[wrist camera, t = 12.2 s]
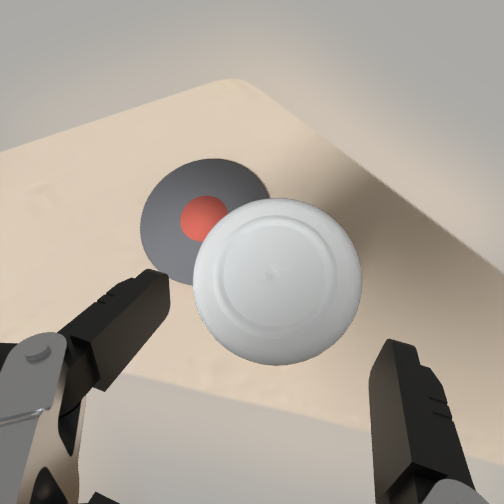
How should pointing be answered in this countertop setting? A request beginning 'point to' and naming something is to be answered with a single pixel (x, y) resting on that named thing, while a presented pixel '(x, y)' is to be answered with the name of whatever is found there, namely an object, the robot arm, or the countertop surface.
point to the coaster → (192, 211)
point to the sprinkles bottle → (277, 281)
